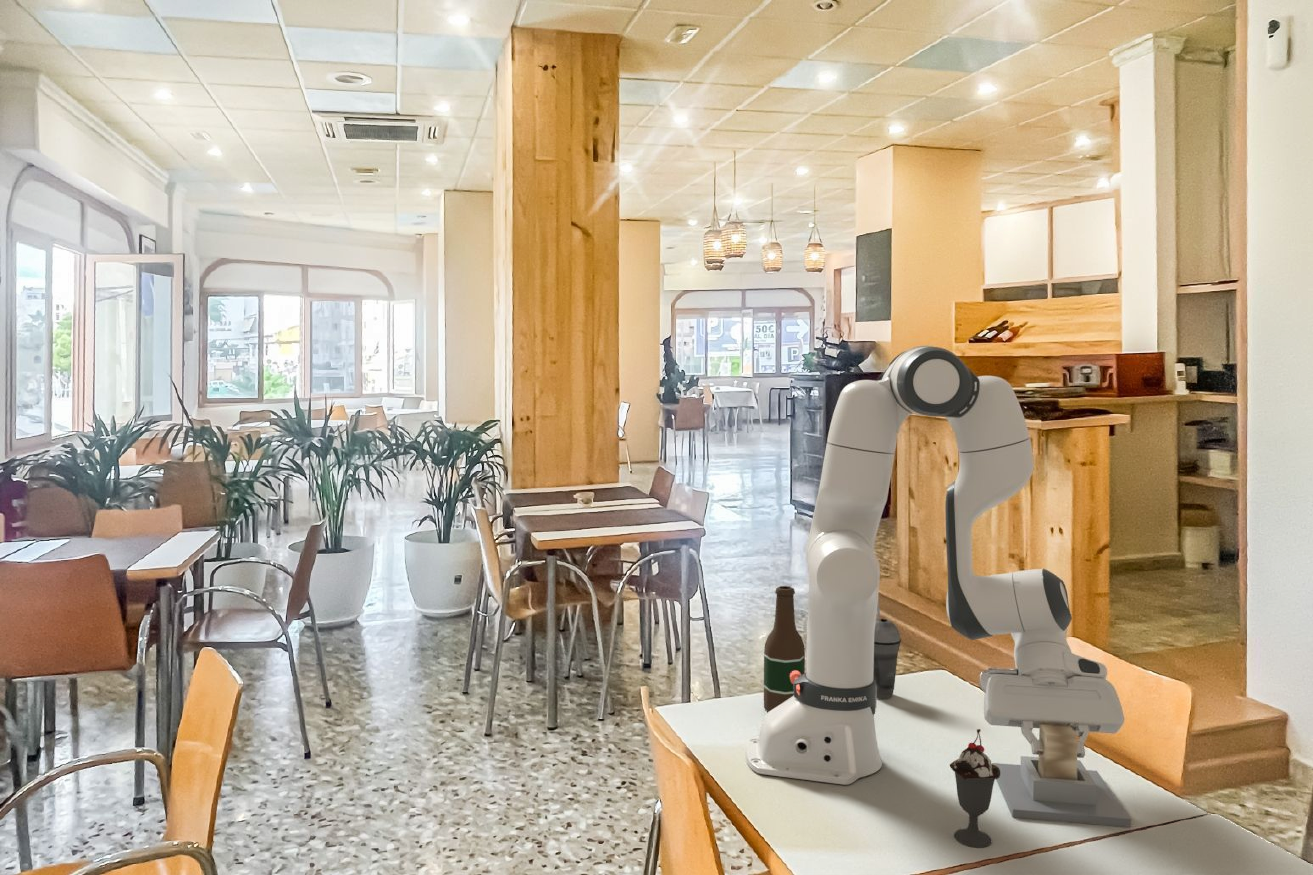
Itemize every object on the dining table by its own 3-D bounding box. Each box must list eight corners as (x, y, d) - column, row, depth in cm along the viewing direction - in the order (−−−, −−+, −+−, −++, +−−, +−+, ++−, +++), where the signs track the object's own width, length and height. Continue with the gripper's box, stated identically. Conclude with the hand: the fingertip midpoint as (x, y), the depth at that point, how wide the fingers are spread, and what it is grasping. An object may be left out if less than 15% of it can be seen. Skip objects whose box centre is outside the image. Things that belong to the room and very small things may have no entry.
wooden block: (1044, 786, 136) (1046, 734, 135) (1038, 773, 140) (1039, 723, 139) (1076, 788, 135) (1077, 736, 134) (1068, 775, 139) (1069, 725, 139)
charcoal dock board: (1012, 817, 131) (1013, 789, 131) (992, 769, 147) (992, 745, 147) (1130, 827, 128) (1131, 798, 128) (1096, 777, 144) (1097, 752, 144)
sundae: (986, 825, 129) (989, 723, 128) (1006, 850, 122) (1009, 743, 121) (940, 826, 128) (943, 724, 127) (958, 851, 122) (960, 743, 121)
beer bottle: (782, 699, 179) (783, 580, 177) (812, 711, 173) (814, 588, 171) (755, 709, 174) (756, 586, 172) (785, 720, 168) (786, 594, 166)
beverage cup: (901, 703, 177) (903, 603, 176) (863, 700, 178) (865, 601, 177) (898, 690, 184) (900, 594, 183) (862, 687, 186) (864, 592, 184)
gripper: (980, 658, 145) (990, 741, 136) (1116, 665, 141) (1135, 751, 132) (975, 676, 150) (984, 757, 141) (1106, 684, 146) (1124, 768, 137)
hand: (1058, 754), depth 137 cm, fingers closed on wooden block, 4 cm apart
